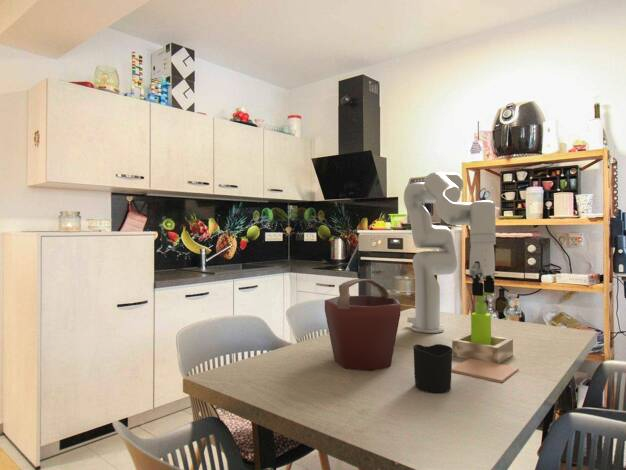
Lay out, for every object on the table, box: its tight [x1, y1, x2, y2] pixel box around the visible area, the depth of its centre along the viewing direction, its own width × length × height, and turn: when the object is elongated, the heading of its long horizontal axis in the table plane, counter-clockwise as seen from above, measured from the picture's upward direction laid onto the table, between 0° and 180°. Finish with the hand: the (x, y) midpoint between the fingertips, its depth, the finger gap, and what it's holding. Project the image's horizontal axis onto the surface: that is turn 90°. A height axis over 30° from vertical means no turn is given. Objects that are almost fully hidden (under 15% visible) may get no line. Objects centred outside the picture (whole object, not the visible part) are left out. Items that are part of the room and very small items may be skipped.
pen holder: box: [412, 343, 453, 394], centre depth 108 cm, size 9×9×10 cm
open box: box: [451, 332, 514, 364], centre depth 137 cm, size 14×14×5 cm
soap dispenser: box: [470, 291, 495, 345], centre depth 137 cm, size 6×7×20 cm
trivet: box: [451, 359, 520, 383], centre depth 121 cm, size 14×14×1 cm
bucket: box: [324, 278, 401, 372], centre depth 130 cm, size 24×22×25 cm
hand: (483, 294), depth 136 cm, fingers open, 9 cm apart
